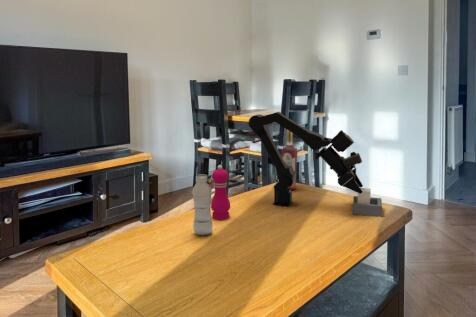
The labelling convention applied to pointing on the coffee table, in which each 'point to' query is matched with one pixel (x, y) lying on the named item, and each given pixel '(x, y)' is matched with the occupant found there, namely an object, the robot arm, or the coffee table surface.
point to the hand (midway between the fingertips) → (361, 189)
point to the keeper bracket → (367, 207)
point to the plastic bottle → (202, 206)
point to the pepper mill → (220, 195)
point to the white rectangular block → (364, 196)
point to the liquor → (290, 155)
